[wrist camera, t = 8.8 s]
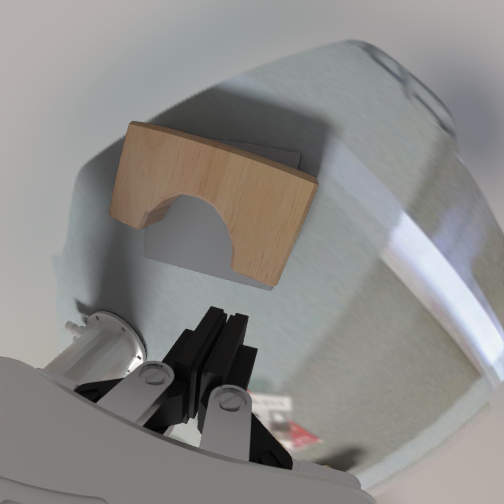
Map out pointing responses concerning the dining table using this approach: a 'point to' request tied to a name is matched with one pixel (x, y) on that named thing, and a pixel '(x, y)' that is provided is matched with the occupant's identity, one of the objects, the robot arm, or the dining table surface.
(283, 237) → the decorative block
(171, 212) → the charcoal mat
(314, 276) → the dining table surface
